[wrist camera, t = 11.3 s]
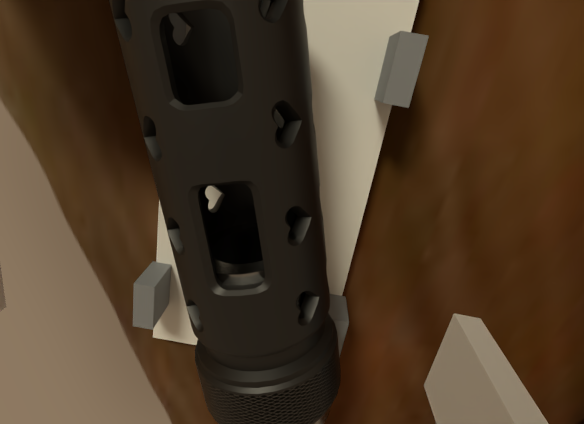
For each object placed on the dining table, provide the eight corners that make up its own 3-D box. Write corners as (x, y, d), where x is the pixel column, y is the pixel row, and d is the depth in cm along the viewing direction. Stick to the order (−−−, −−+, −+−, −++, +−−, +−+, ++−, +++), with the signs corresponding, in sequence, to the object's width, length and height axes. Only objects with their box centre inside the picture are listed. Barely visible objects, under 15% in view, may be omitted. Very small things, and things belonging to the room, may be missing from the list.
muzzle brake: (304, -38, 22) (304, -123, 12) (336, 342, 32) (349, 462, 22) (149, -16, 22) (30, -81, 13) (227, 349, 32) (194, 468, 23)
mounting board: (175, -71, 24) (141, -105, 19) (425, -24, 24) (451, -47, 19) (156, 326, 35) (132, 364, 31) (326, 357, 35) (327, 400, 31)
